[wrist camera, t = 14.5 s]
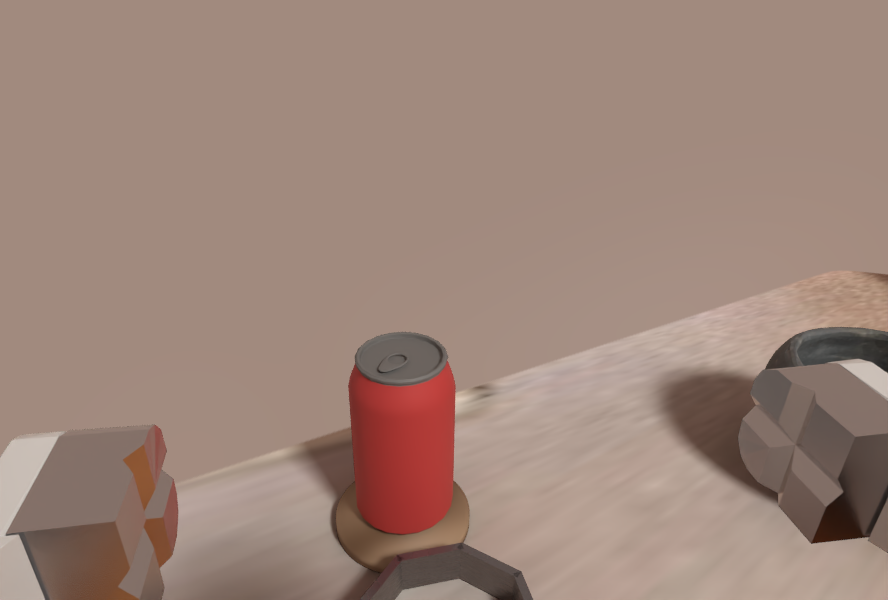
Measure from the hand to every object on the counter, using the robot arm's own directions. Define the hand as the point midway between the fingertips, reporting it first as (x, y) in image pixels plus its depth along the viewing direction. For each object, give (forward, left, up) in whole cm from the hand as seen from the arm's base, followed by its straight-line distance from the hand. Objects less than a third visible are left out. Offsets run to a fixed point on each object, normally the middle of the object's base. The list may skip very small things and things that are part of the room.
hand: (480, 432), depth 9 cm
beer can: (-15, +20, -27) cm, 37 cm away
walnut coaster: (-15, +19, -27) cm, 37 cm away
